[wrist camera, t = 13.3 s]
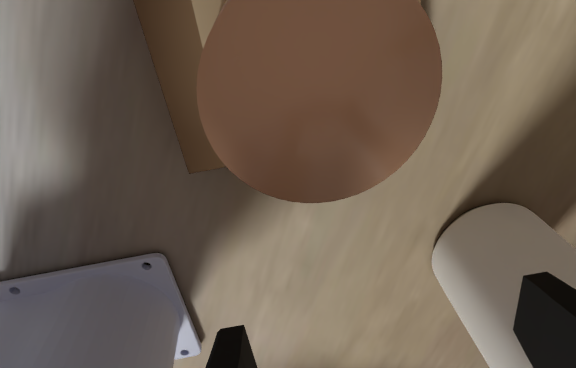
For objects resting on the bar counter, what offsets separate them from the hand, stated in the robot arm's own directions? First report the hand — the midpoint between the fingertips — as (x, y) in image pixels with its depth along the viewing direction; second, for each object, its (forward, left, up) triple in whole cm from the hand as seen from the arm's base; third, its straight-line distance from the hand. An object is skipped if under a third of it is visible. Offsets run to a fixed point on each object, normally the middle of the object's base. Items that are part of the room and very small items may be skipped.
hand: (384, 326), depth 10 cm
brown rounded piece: (-1, +6, -4) cm, 8 cm away
